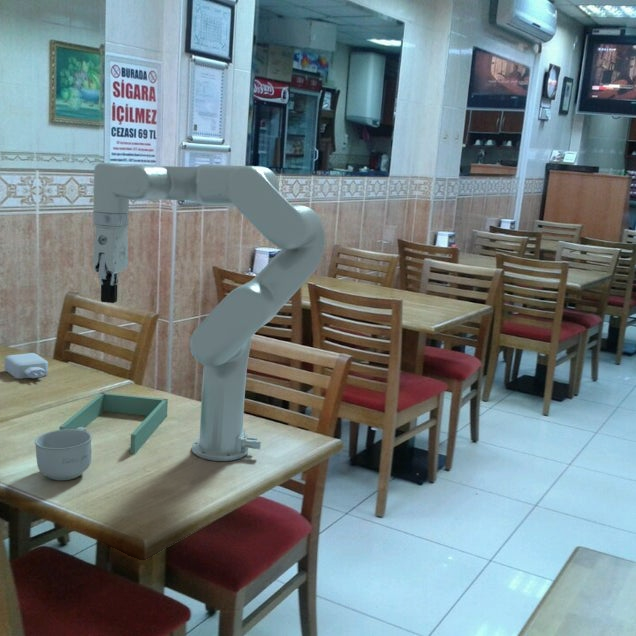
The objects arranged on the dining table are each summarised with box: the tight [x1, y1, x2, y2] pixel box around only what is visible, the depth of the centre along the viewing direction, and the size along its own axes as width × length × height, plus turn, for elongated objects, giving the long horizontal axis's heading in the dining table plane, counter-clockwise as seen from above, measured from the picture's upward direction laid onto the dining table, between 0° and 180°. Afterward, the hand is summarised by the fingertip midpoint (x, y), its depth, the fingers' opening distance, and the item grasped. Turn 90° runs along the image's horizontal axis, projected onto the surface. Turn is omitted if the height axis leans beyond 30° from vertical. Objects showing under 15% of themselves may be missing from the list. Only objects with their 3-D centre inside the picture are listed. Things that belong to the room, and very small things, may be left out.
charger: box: [4, 352, 49, 380], centre depth 212 cm, size 5×9×15 cm
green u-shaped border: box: [58, 392, 169, 455], centre depth 176 cm, size 17×26×4 cm, turn 175°
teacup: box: [34, 427, 93, 481], centre depth 152 cm, size 14×11×8 cm
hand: (108, 301), depth 169 cm, fingers closed
